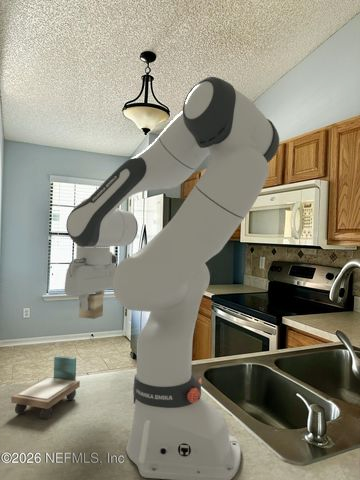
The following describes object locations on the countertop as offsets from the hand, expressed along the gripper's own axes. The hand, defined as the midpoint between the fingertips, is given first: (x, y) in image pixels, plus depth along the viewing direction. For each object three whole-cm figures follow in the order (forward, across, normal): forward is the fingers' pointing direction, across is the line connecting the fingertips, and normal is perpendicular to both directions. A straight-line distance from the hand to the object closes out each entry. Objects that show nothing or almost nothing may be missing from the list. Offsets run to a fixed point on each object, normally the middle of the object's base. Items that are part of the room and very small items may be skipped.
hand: (91, 308), depth 91 cm
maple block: (+2, 0, 0) cm, 2 cm away
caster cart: (+23, -9, +6) cm, 26 cm away
